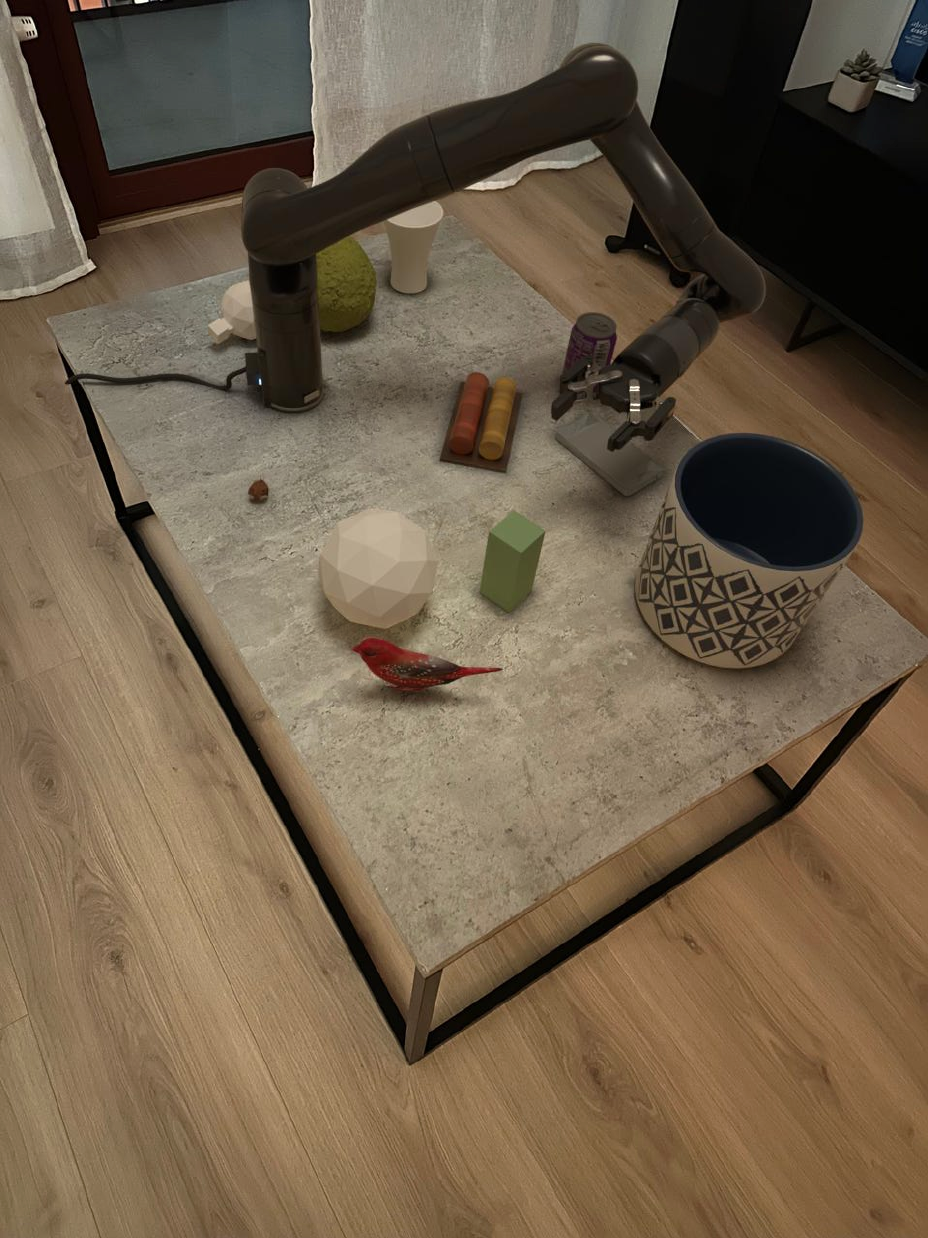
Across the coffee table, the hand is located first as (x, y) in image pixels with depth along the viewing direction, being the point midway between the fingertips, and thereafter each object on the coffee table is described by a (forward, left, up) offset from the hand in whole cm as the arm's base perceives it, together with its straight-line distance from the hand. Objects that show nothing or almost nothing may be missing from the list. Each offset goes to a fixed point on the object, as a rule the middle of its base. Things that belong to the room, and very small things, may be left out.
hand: (581, 430), depth 110 cm
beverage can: (+12, +31, -20) cm, 39 cm away
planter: (+19, -14, -20) cm, 31 cm away
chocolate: (-40, +11, -20) cm, 46 cm away
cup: (-12, +61, -20) cm, 66 cm away
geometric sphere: (-26, -9, -20) cm, 34 cm away
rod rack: (-6, +23, -20) cm, 31 cm away
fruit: (-26, +52, -20) cm, 62 cm away
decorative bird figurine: (-22, -23, -20) cm, 37 cm away
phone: (+12, +15, -20) cm, 28 cm away
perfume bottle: (-41, +48, -20) cm, 66 cm away
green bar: (-9, -9, -20) cm, 23 cm away
